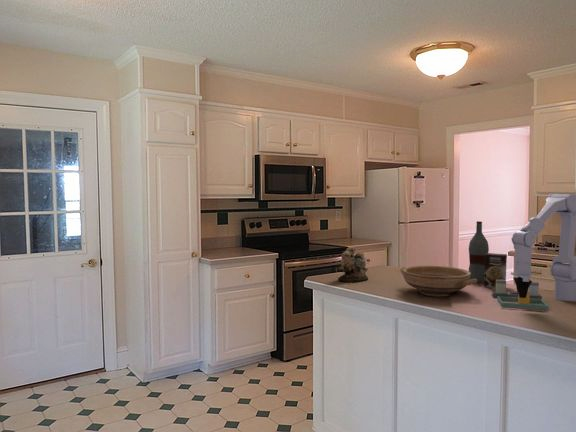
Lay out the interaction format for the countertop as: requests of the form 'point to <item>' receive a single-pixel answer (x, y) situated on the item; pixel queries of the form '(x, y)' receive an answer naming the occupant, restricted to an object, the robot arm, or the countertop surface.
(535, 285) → the grey rectangular block
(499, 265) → the coffee box
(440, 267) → the ceramic bowl
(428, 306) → the countertop surface
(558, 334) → the countertop surface
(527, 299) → the block
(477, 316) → the countertop surface
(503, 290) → the block
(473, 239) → the bottle
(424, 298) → the countertop surface
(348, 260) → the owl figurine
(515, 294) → the fuse holder
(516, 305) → the parts tray
